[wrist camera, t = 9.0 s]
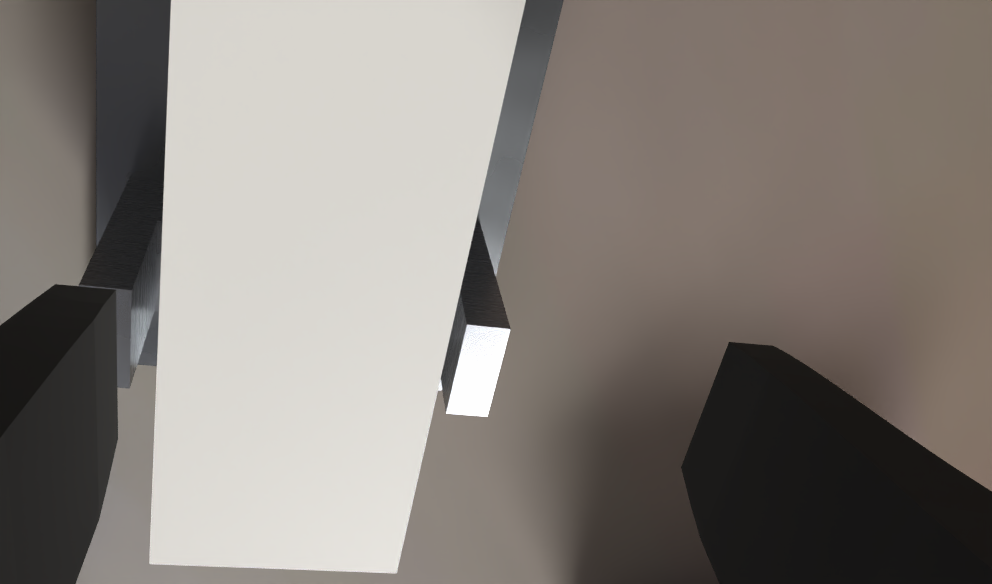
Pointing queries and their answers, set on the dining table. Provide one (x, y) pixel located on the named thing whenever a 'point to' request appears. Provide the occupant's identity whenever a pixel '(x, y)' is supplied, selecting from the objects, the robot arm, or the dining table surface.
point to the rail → (313, 267)
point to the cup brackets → (140, 189)
